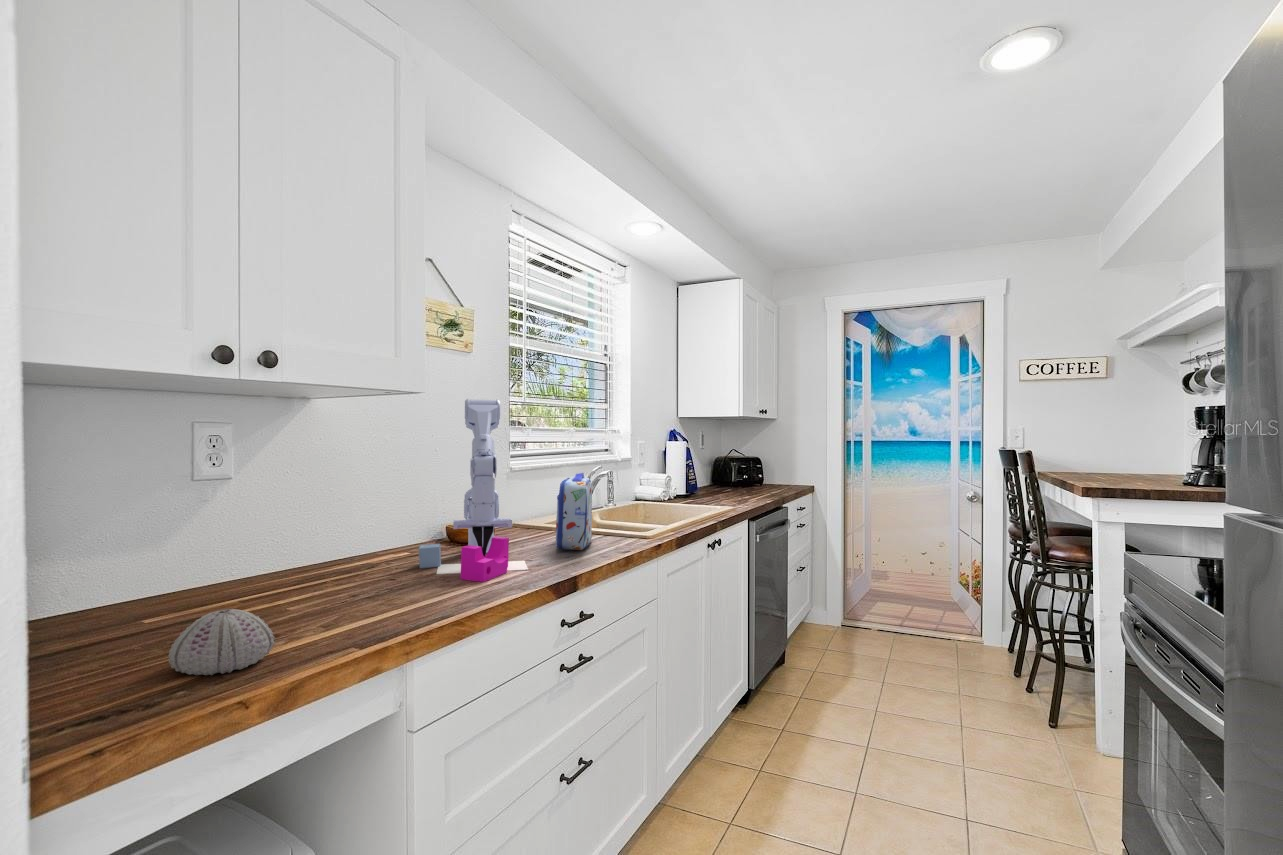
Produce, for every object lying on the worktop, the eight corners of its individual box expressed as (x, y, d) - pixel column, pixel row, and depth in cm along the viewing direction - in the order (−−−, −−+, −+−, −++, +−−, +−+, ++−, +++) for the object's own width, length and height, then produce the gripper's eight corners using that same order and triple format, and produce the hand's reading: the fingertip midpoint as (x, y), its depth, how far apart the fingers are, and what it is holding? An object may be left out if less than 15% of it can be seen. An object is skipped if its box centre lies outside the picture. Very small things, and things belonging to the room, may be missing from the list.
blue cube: (421, 564, 167) (420, 545, 167) (441, 562, 168) (440, 543, 168) (419, 568, 162) (418, 548, 162) (440, 566, 163) (439, 546, 163)
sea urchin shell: (211, 687, 87) (212, 628, 87) (144, 674, 92) (145, 618, 92) (294, 655, 99) (295, 604, 100) (231, 645, 104) (232, 596, 104)
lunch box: (561, 538, 209) (561, 471, 209) (592, 538, 209) (593, 471, 209) (553, 554, 181) (553, 477, 181) (589, 554, 182) (590, 477, 182)
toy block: (483, 582, 148) (484, 549, 148) (460, 579, 150) (461, 547, 150) (516, 568, 162) (517, 538, 162) (495, 565, 164) (496, 536, 164)
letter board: (438, 565, 166) (438, 564, 166) (524, 561, 171) (524, 560, 171) (436, 574, 155) (436, 573, 155) (528, 570, 161) (528, 569, 161)
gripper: (453, 505, 157) (452, 560, 157) (513, 503, 161) (512, 557, 161) (453, 502, 164) (453, 555, 164) (511, 501, 168) (510, 552, 168)
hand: (482, 556), depth 163 cm, fingers closed
